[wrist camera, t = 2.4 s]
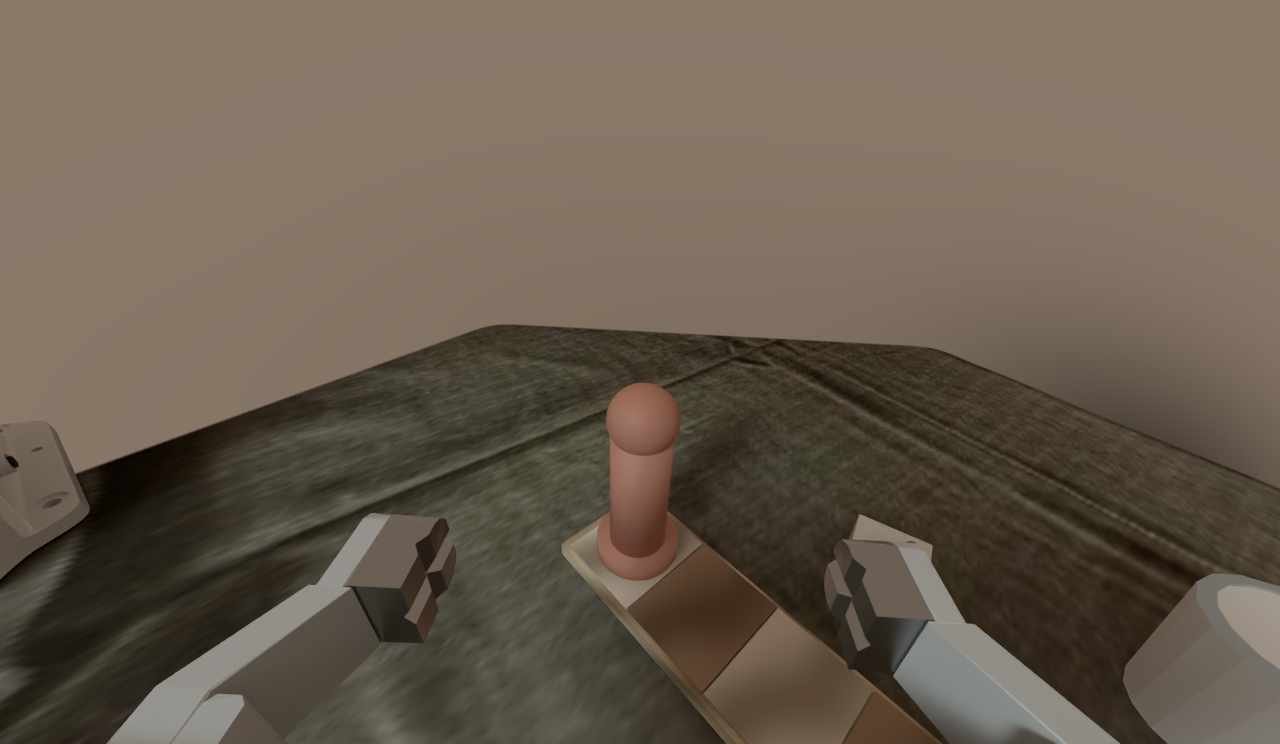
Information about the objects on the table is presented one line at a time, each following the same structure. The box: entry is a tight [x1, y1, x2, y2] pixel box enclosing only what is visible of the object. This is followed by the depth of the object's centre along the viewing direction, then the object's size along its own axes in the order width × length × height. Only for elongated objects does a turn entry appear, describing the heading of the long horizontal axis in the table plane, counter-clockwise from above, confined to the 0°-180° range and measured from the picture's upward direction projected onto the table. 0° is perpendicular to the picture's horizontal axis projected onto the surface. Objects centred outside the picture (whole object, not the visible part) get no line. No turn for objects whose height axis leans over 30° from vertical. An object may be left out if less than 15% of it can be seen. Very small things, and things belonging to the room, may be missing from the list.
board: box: [561, 511, 942, 744], centre depth 24 cm, size 23×7×1 cm, turn 42°
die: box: [848, 514, 933, 561], centre depth 27 cm, size 4×4×4 cm
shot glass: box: [1123, 573, 1280, 744], centre depth 21 cm, size 7×7×7 cm
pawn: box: [597, 383, 680, 581], centre depth 26 cm, size 5×5×12 cm
